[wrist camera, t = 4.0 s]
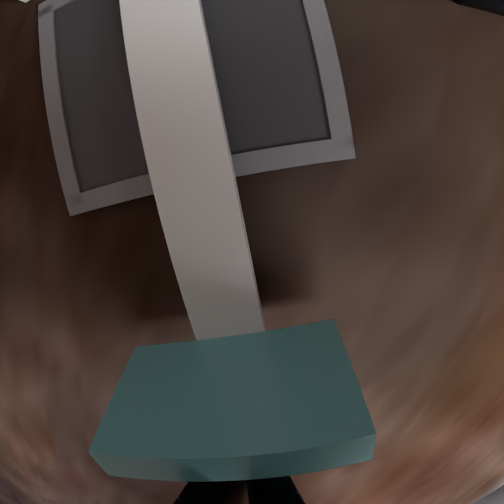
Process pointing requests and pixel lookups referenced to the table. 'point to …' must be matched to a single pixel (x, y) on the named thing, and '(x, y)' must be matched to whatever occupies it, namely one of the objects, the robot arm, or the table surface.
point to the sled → (216, 301)
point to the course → (228, 81)
